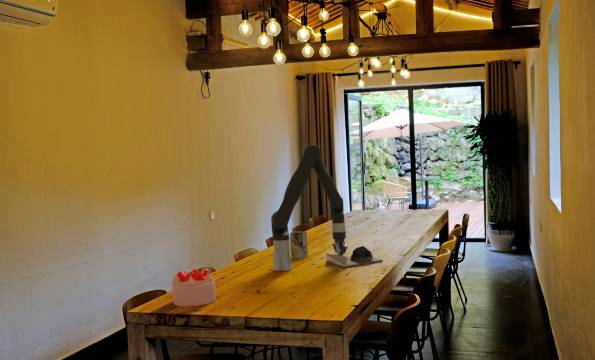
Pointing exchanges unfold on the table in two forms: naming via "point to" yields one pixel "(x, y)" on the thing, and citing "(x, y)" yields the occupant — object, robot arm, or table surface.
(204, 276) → the cake
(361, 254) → the black rock
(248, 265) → the table surface
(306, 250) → the coffee box
